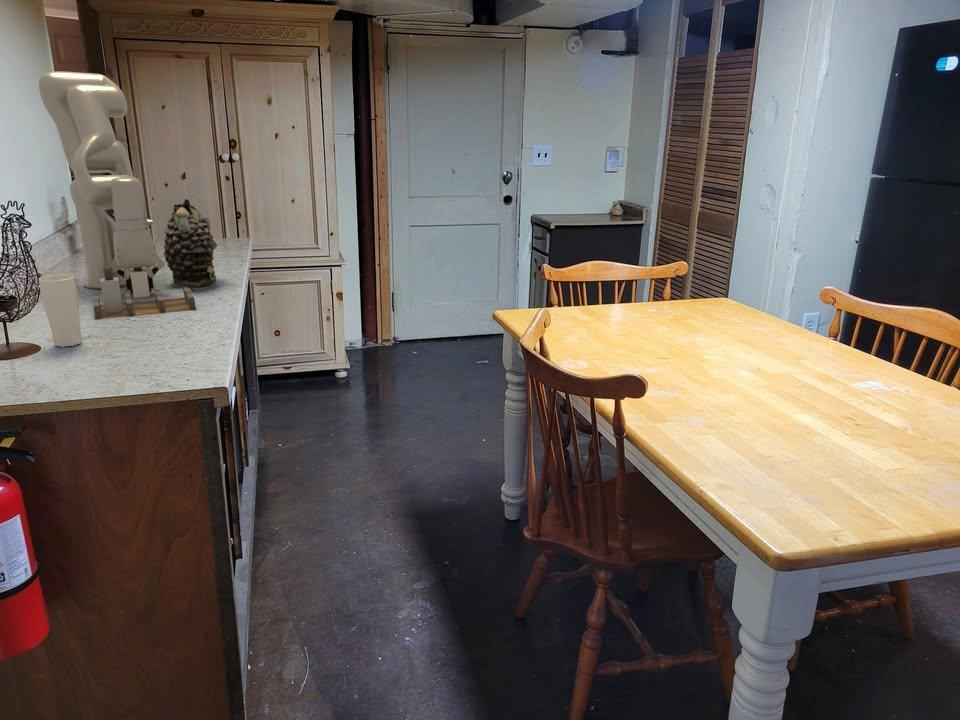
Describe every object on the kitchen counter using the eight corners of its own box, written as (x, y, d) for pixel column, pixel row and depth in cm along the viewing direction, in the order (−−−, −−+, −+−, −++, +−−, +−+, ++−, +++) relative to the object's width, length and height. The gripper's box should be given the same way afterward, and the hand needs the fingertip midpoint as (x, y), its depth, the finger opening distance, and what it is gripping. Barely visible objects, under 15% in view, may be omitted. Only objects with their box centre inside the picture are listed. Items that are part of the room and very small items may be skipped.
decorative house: (223, 290, 206) (214, 203, 198) (167, 293, 200) (156, 205, 192) (219, 276, 224) (210, 196, 216) (168, 279, 218) (157, 197, 210)
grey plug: (105, 309, 178) (98, 266, 175) (122, 307, 180) (116, 265, 176) (105, 313, 175) (98, 269, 171) (123, 311, 177) (116, 268, 173)
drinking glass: (61, 351, 150) (48, 282, 145) (44, 345, 153) (31, 278, 148) (92, 343, 155) (81, 276, 150) (75, 338, 159) (63, 273, 154)
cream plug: (133, 298, 194) (128, 259, 191) (149, 297, 196) (144, 258, 193) (134, 301, 191) (128, 261, 187) (150, 300, 193) (145, 260, 189)
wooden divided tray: (95, 309, 182) (92, 294, 181) (189, 301, 192) (187, 286, 191) (96, 324, 170) (93, 307, 168) (196, 314, 180) (194, 298, 179)
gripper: (164, 221, 194) (172, 286, 200) (96, 224, 186) (106, 292, 192) (166, 225, 188) (175, 292, 193) (96, 228, 180) (107, 297, 186)
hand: (140, 291), depth 193 cm, fingers closed on cream plug, 4 cm apart
